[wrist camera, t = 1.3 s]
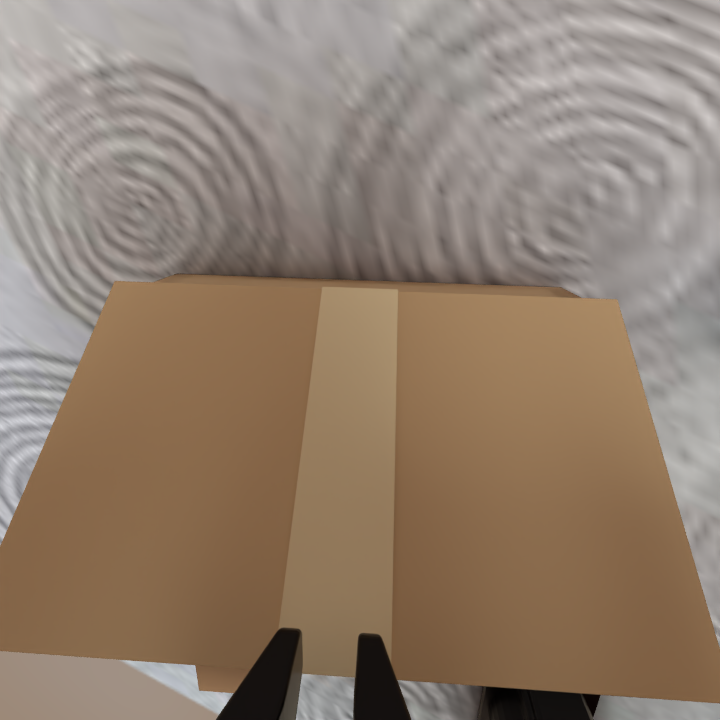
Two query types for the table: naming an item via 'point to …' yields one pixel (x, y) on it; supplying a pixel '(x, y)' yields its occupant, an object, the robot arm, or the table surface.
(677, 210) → the table surface
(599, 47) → the table surface
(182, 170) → the table surface
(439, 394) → the lid
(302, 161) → the table surface
